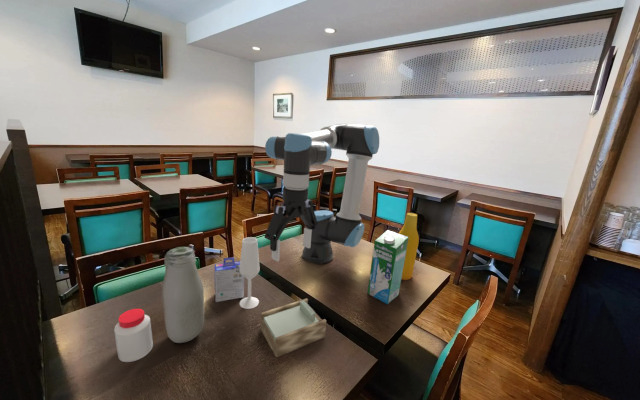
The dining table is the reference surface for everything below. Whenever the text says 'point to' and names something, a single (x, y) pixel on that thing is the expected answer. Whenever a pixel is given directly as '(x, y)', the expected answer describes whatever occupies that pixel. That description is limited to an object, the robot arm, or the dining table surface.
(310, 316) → the lid
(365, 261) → the dining table surface
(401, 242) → the milk carton
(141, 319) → the pill bottle
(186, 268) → the glass bottle
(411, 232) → the beer bottle
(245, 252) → the champagne flute
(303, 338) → the box
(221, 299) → the ink cartridge box
